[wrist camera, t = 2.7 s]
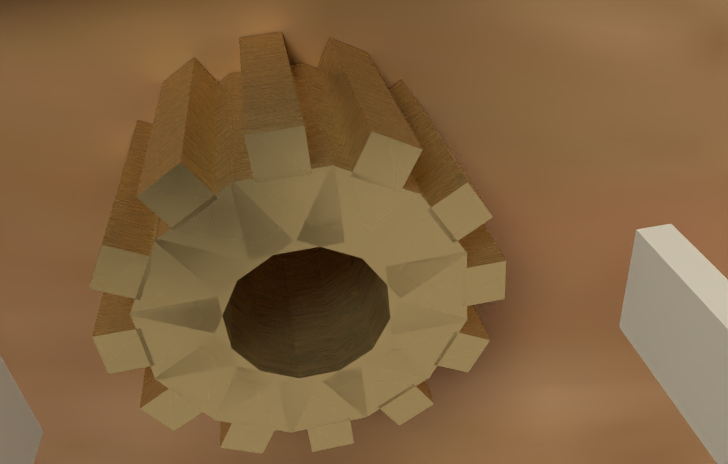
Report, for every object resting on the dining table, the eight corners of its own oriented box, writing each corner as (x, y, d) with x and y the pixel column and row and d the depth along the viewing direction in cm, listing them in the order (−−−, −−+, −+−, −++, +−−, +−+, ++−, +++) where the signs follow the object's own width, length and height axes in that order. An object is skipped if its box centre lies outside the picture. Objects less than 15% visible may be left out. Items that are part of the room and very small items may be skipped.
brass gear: (439, 277, 22) (500, 413, 17) (173, 327, 21) (157, 483, 16) (430, 10, 17) (512, 92, 12) (81, 60, 16) (18, 171, 11)
